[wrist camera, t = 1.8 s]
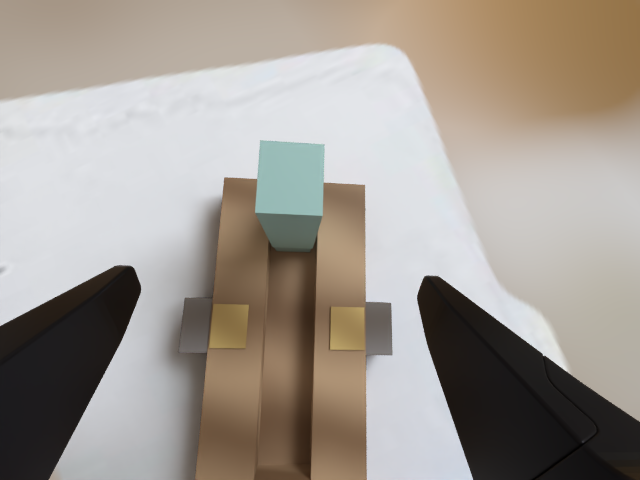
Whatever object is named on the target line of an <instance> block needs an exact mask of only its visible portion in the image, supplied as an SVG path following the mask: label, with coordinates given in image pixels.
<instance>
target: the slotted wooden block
mask: <svg viewBox="0 0 640 480" xmlns="http://www.w3.org/2000/svg"><path fill="white" fill-rule="evenodd" d="M256 192H257V179H244V178H225V177H224V187H223V197H222V207H221V218H220V228H219V238H218V248H217V259H216V269H215V279H214V290H213V298H185V301H184V310H183V319H182V327H181V336H180V344H179V353H207V362H206V372H205V382H204V392H203V403H202V413H201V423H200V434H199V444H198V454H197V464H196V475H195V480H367V470H366V355H392V322H391V303H383V302H366V291H365V185H356V184H337V183H323V216H322V220H321V223H320V226H319V230H318V233H317V236H316V239H315V243H314V246H313V249H311V250H310V252H284V251H276V250H275V248H274V247H272V245H271V243H270V241H269V239H268V237H267V235H266V233H265V231H264V229H263V227H262V225H261V223H260V222H259V220H258V218H257V216H256V214H255V206H256Z"/></svg>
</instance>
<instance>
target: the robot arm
mask: <svg viewBox="0 0 640 480" xmlns="http://www.w3.org/2000/svg"><path fill="white" fill-rule="evenodd" d="M140 293H141V285H140V282H139V280H138V277H137V274H136V272H135V269H134V268H133V267H132V266H126V265H117V266H114V267H112V268H111V269H109V270H107V271H105V272H103V273H101V274H99V275H97V276H95V277H93V278H91V279H90V280H88V281H86V282H84V283H82V284H80V285H78V286H76V287H74V288H72V289H70V290H68V291H67V292H65V293H63V294H61V295H59V296H57V297H55V298H53V299H51V300H49V301H47V302H45V303H44V304H42V305H40V306H38V307H36V308H34V309H32V310H30V311H28V312H26V313H24V314H23V315H21V316H19V317H17V318H15V319H13V320H11V321H9V322H7V323H5V324H3V325H1V326H0V480H49V478H50V476H51V474H52V472H53V471H54V469H55V467H56V465H57V463H58V461H59V459H60V457H61V455H62V453H63V451H64V450H65V448H66V446H67V444H68V442H69V440H70V438H71V436H72V434H73V432H74V430H75V429H76V427H77V425H78V423H79V421H80V419H81V417H82V415H83V413H84V411H85V410H86V408H87V406H88V404H89V402H90V400H91V398H92V396H93V394H94V392H95V390H96V389H97V387H98V385H99V383H100V381H101V379H102V377H103V375H104V373H105V371H106V369H107V368H108V366H109V364H110V362H111V360H112V358H113V356H114V354H115V352H116V350H117V348H118V347H119V345H120V343H121V341H122V338H123V336H124V334H125V331H126V329H127V326H128V324H129V321H130V319H131V316H132V314H133V311H134V308H135V306H136V303H137V301H138V298H139V296H140ZM417 301H418V305H419V310H420V315H421V319H422V324H423V328H424V333H425V337H426V341H427V345H428V348H429V351H430V354H431V357H432V360H433V363H434V366H435V369H436V372H437V375H438V378H439V381H440V383H441V386H442V389H443V392H444V395H445V398H446V401H447V404H448V407H449V410H450V413H451V416H452V419H453V421H454V424H455V427H456V430H457V433H458V436H459V439H460V442H461V445H462V448H463V451H464V454H465V457H466V460H467V462H468V465H469V468H470V471H471V474H472V477H473V480H640V422H639V421H637V420H636V419H634V418H633V417H632V416H630V415H629V414H627V413H626V412H624V411H622V410H621V409H620V408H618V407H617V406H615V405H614V404H612V403H611V402H609V401H608V400H606V399H605V398H603V397H602V396H600V395H599V394H597V393H596V392H595V391H593V390H592V389H590V388H589V387H587V386H586V385H584V384H583V383H581V382H580V381H579V380H577V379H576V378H575V377H573V376H572V375H570V374H569V373H568V372H566V371H565V370H563V369H562V368H561V367H559V366H558V365H557V364H555V363H554V362H553V361H551V360H550V359H549V358H547V357H546V356H543V354H542V353H541V352H539V351H538V350H537V349H535V348H534V347H533V346H531V345H530V344H529V343H527V342H526V341H525V340H523V339H522V338H520V337H519V336H518V335H516V334H515V333H514V332H512V331H511V330H510V329H508V328H507V327H506V326H504V325H503V324H502V323H500V322H499V321H498V320H496V319H495V318H494V317H492V316H491V315H490V314H488V313H487V312H486V311H484V310H483V309H482V308H480V307H479V306H478V305H476V304H475V303H474V302H472V301H471V300H470V299H468V298H467V297H466V296H464V295H463V294H462V293H460V292H459V291H458V290H456V289H455V288H454V287H452V286H451V285H450V284H448V283H447V282H446V281H444V280H443V279H442V278H440V277H439V276H425V277H424V278H423V281H422V283H421V286H420V289H419V292H418V295H417Z"/></svg>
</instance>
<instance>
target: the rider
mask: <svg viewBox="0 0 640 480" xmlns="http://www.w3.org/2000/svg"><path fill="white" fill-rule="evenodd" d="M323 183H324V144H309V143H293V142H277V141H261V140H260V151H259V165H258V179H257V192H256V206H255V214H256V216H257V218H258V220H259V222H260V223H261V225H262V227H263V229H264V231H265V233H266V235H267V237H268V239H269V241H270V243H271V245H272V247H274V248H275V250H276V251H284V252H310V250H311V249H313V246H314V243H315V239H316V236H317V233H318V230H319V226H320V223H321V220H322V216H323Z"/></svg>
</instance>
